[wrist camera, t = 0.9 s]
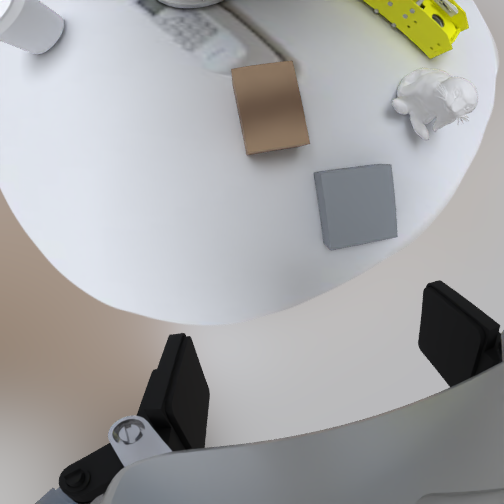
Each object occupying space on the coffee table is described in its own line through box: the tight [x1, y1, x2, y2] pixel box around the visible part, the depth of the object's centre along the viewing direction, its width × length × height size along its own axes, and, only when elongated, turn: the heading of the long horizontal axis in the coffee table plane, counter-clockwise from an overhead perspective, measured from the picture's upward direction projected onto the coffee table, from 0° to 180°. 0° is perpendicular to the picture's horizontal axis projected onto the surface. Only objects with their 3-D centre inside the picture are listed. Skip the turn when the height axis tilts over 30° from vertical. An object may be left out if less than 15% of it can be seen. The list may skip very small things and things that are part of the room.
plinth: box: [314, 164, 397, 250], centre depth 31 cm, size 8×8×3 cm
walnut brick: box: [231, 61, 310, 155], centre depth 27 cm, size 8×6×6 cm
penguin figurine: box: [392, 68, 478, 140], centre depth 23 cm, size 6×8×12 cm
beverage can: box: [0, 0, 64, 54], centre depth 19 cm, size 6×6×12 cm
